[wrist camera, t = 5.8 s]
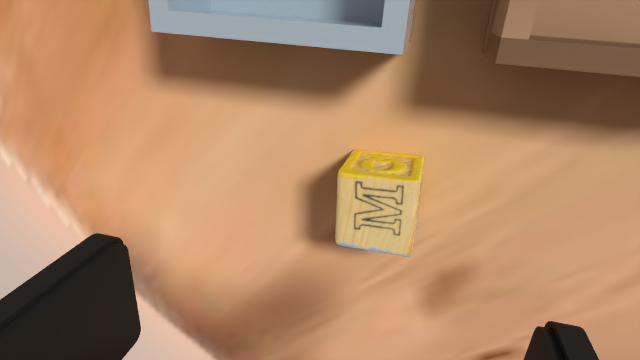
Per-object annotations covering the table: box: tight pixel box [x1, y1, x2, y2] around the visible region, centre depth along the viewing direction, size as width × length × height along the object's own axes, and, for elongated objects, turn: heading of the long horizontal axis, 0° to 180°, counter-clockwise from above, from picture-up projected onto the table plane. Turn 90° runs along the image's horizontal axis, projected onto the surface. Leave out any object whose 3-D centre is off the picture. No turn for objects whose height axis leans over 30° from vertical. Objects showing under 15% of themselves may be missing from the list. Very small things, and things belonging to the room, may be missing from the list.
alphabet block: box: [335, 150, 424, 257], centre depth 16 cm, size 3×3×3 cm
